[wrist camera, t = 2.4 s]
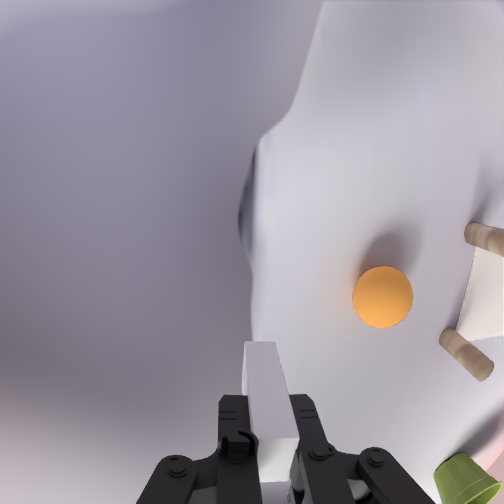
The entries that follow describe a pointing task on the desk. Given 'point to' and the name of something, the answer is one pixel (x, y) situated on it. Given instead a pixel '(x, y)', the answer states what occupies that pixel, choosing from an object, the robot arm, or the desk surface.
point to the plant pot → (465, 482)
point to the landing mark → (483, 298)
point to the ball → (382, 297)
